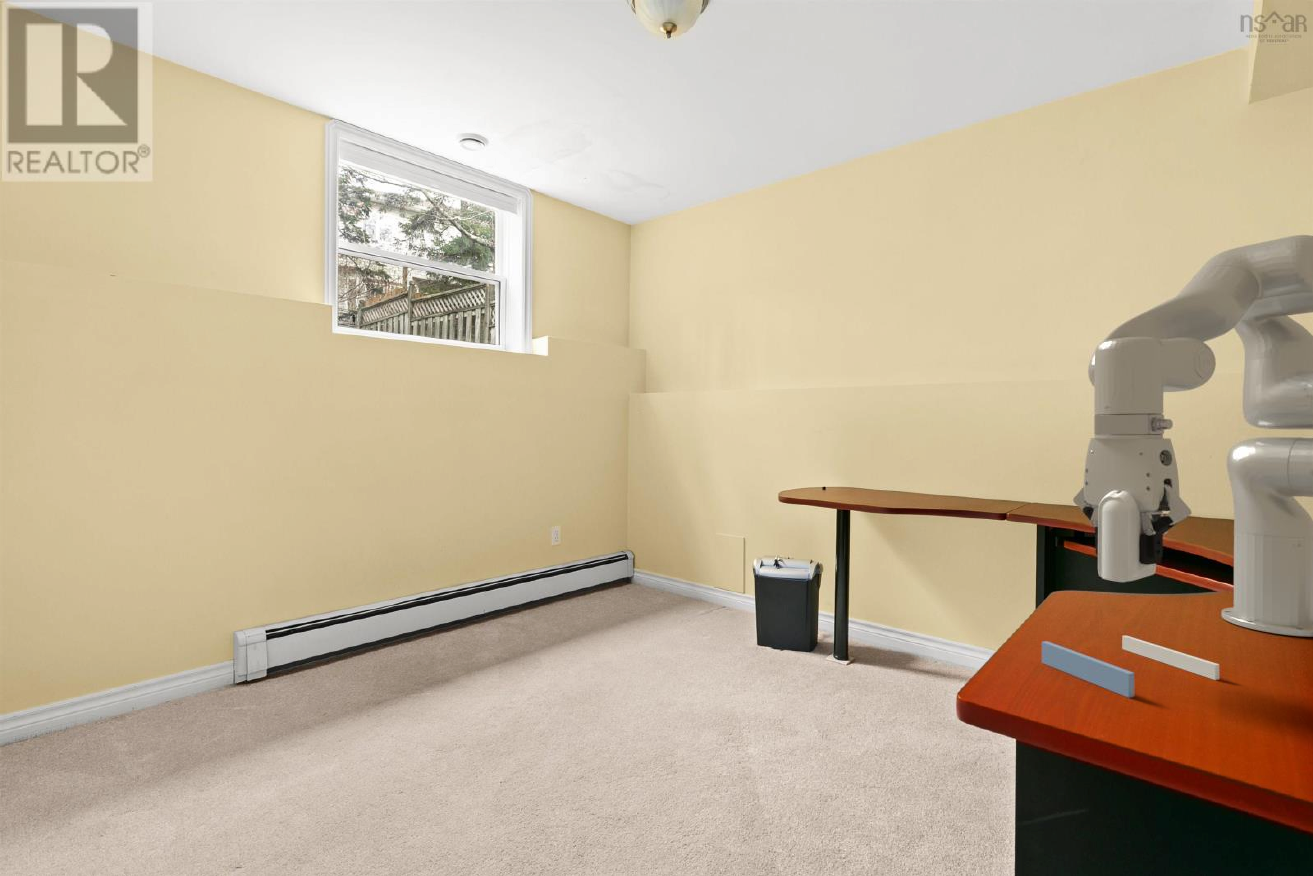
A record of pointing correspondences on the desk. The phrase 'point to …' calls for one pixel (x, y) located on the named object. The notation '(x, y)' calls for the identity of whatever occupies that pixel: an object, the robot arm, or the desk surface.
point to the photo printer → (1120, 539)
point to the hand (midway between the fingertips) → (1127, 557)
